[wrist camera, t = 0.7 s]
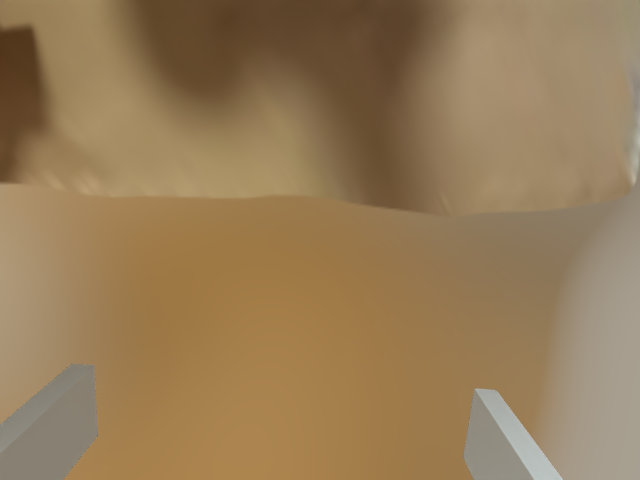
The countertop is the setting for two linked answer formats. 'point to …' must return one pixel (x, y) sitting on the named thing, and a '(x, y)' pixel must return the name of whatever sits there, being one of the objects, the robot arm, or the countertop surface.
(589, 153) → the countertop surface
